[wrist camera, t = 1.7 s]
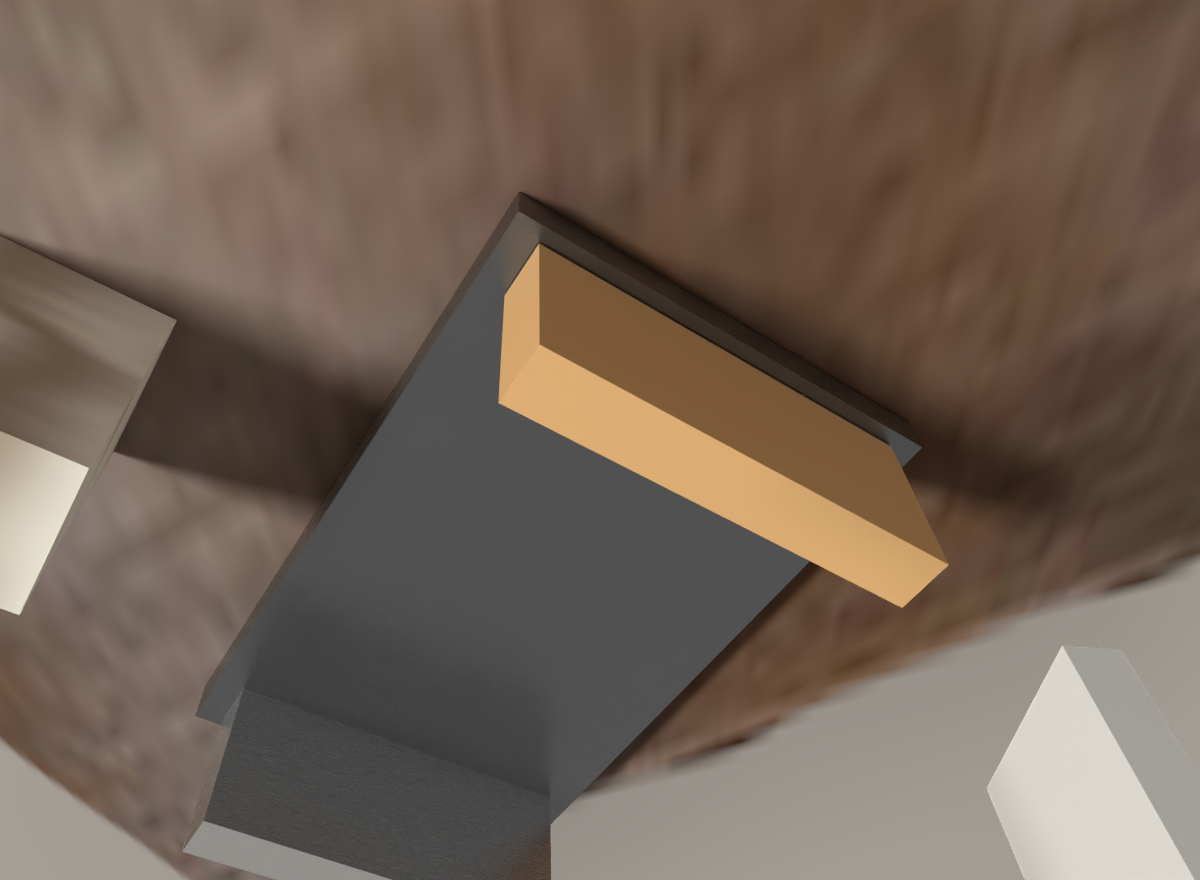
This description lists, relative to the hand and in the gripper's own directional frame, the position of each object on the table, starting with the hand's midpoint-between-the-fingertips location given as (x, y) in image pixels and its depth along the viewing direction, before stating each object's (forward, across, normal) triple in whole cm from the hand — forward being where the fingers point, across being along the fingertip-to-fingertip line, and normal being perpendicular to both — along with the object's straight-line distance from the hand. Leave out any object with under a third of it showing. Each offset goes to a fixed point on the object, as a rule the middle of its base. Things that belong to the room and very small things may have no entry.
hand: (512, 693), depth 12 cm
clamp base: (+22, +2, -17) cm, 27 cm away
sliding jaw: (+20, +6, -7) cm, 22 cm away
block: (+22, -14, -9) cm, 28 cm away
